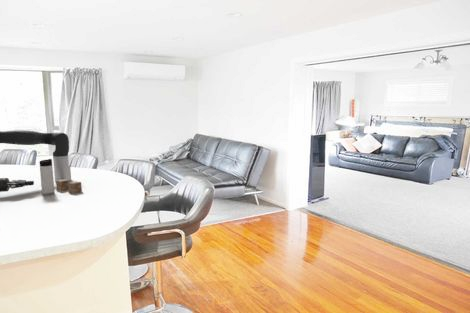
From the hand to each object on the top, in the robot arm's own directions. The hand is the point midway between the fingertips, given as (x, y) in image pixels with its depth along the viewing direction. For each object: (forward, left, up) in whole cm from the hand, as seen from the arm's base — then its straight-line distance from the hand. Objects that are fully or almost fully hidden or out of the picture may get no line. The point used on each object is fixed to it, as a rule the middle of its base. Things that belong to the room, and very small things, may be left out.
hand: (33, 182), depth 184 cm
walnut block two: (-15, +3, -7) cm, 17 cm away
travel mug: (-5, +5, -7) cm, 10 cm away
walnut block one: (-15, +15, -7) cm, 22 cm away
